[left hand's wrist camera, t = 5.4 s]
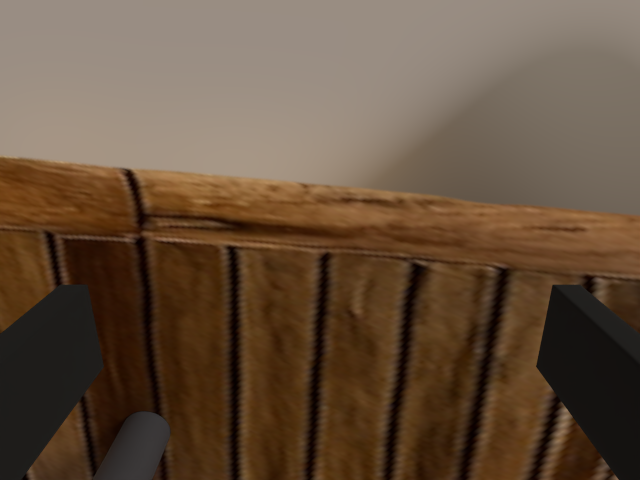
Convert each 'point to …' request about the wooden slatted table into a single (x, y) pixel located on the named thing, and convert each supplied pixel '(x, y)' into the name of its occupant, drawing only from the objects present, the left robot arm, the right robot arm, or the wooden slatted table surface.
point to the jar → (136, 448)
